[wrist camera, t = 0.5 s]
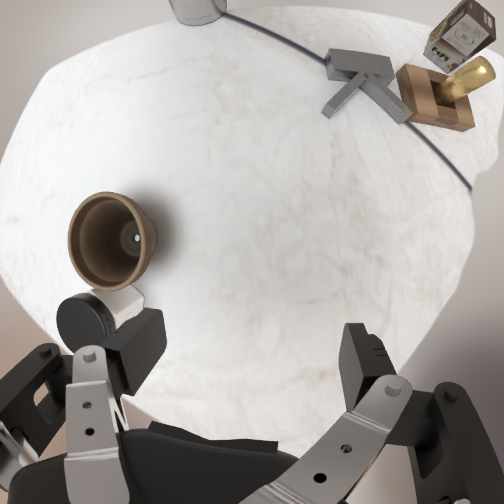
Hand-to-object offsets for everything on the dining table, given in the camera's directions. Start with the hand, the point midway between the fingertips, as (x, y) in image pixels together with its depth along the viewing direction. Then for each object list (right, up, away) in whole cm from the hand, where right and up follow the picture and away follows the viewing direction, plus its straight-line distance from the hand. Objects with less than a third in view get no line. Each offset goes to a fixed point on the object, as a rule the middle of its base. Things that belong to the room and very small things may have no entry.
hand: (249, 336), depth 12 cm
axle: (+31, +29, +23) cm, 48 cm away
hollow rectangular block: (+31, +29, +23) cm, 48 cm away
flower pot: (-17, +6, +27) cm, 32 cm away
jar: (-20, -4, +28) cm, 35 cm away
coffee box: (+36, +42, +22) cm, 60 cm away
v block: (+17, +28, +24) cm, 41 cm away
